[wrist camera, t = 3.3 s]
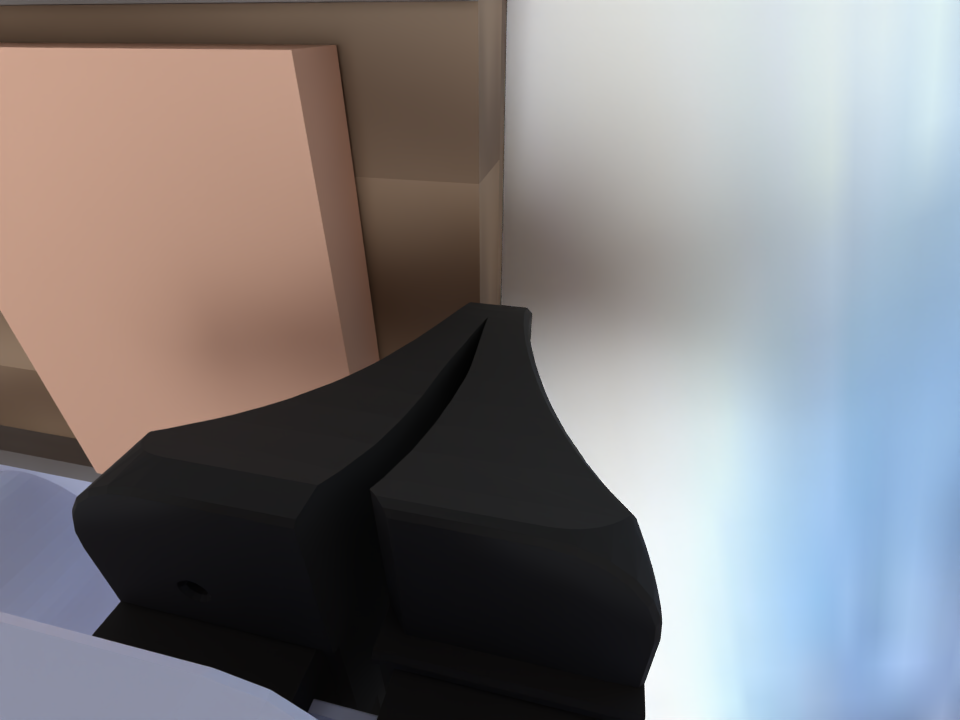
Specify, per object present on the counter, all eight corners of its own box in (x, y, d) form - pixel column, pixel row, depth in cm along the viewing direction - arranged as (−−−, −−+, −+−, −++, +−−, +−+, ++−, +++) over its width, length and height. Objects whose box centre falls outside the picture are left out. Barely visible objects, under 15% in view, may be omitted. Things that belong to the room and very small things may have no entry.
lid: (396, 485, 15) (377, 527, 14) (135, 439, 17) (96, 472, 16) (335, 45, 9) (291, 49, 8) (-68, 41, 11) (-158, 46, 9)
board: (497, 471, 18) (473, 560, 15) (21, 393, 21) (-71, 452, 18) (508, -55, 10) (461, -82, 7) (-248, -32, 13) (-479, -44, 11)
